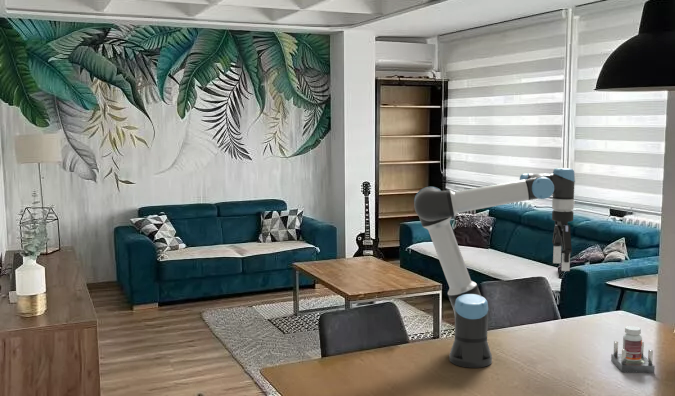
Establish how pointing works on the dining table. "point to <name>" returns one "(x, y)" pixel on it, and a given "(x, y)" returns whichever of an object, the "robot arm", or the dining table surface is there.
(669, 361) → the dining table surface
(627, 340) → the pill bottle
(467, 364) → the robot arm
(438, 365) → the dining table surface
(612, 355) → the chassis
